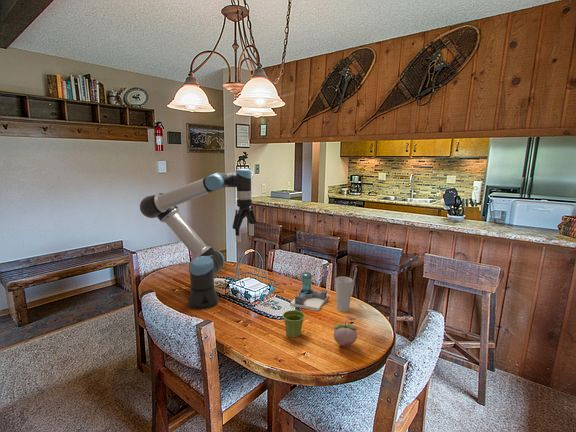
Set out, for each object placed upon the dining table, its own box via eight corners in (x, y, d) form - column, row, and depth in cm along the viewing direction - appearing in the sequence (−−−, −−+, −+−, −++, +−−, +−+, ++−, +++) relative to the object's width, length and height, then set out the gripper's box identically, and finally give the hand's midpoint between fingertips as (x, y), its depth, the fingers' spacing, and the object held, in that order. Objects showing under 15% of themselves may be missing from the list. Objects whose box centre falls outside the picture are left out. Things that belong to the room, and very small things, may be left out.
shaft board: (318, 311, 158) (318, 301, 157) (290, 305, 164) (290, 295, 163) (328, 296, 175) (328, 287, 174) (302, 292, 180) (302, 283, 179)
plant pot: (291, 326, 144) (291, 308, 143) (308, 333, 138) (309, 314, 137) (278, 334, 137) (278, 315, 136) (295, 342, 131) (295, 323, 130)
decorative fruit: (353, 339, 134) (354, 317, 132) (358, 351, 126) (359, 327, 124) (331, 340, 133) (331, 317, 131) (334, 351, 125) (335, 328, 123)
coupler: (311, 296, 171) (311, 275, 168) (302, 297, 170) (302, 275, 168) (310, 292, 175) (310, 272, 173) (301, 293, 175) (301, 272, 173)
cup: (351, 313, 156) (352, 283, 153) (333, 312, 157) (334, 282, 154) (351, 306, 164) (352, 277, 161) (334, 304, 165) (335, 275, 163)
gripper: (237, 202, 155) (238, 244, 159) (261, 196, 177) (262, 233, 181) (224, 201, 158) (225, 243, 162) (249, 195, 180) (250, 232, 184)
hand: (245, 238), depth 172 cm, fingers open, 13 cm apart
